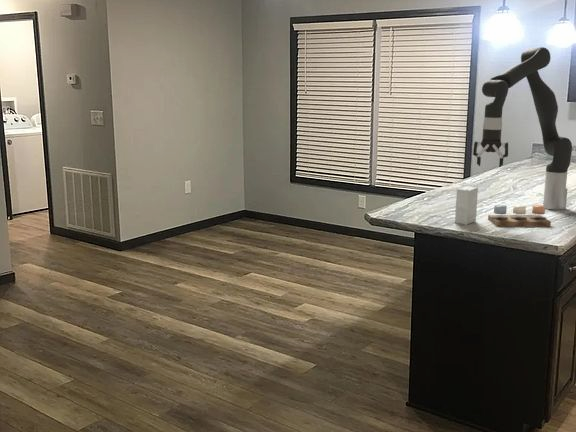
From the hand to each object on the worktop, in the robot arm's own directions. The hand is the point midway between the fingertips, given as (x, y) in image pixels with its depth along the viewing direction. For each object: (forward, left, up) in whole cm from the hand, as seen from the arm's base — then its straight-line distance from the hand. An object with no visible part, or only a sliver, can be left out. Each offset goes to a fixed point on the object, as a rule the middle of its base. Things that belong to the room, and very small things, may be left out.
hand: (489, 166), depth 280 cm
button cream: (-11, +8, -19) cm, 23 cm away
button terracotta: (-19, +8, -19) cm, 28 cm away
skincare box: (+11, +7, -23) cm, 27 cm away
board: (-11, +8, -23) cm, 27 cm away
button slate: (-3, +8, -19) cm, 21 cm away
